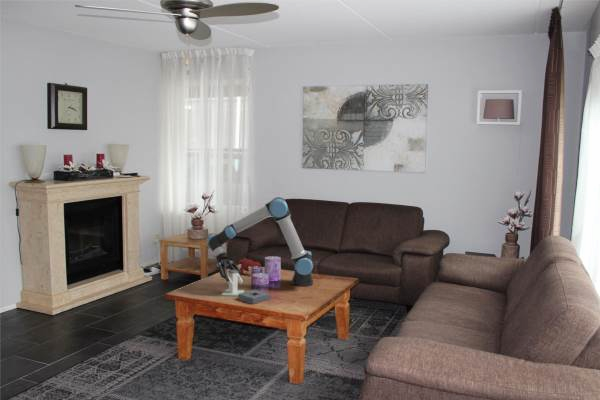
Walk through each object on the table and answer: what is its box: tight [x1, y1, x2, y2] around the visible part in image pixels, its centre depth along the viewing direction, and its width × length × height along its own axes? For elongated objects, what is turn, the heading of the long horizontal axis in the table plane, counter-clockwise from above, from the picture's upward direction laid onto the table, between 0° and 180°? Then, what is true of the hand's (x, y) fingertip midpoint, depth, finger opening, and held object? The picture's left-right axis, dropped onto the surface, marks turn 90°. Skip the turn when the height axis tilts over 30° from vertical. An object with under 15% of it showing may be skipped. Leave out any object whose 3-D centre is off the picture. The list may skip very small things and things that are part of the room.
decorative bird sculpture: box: [236, 257, 262, 275], centre depth 395 cm, size 28×9×15 cm
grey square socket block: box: [237, 289, 271, 305], centre depth 329 cm, size 14×14×4 cm
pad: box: [221, 288, 245, 298], centre depth 341 cm, size 12×12×1 cm
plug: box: [227, 269, 239, 293], centre depth 340 cm, size 5×5×14 cm
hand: (236, 283), depth 338 cm, fingers open, 8 cm apart
